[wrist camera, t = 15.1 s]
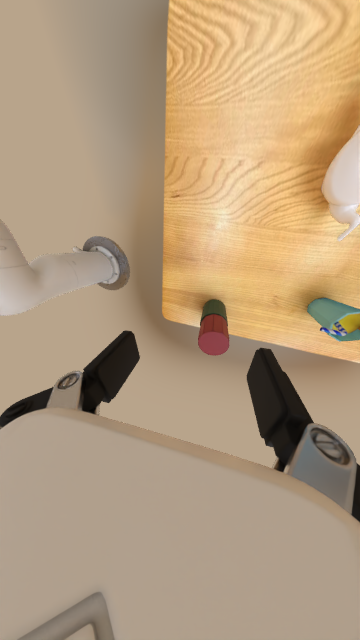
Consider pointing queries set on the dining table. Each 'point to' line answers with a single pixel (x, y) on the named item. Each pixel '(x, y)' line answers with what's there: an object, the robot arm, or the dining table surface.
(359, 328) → the cup
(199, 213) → the dining table surface
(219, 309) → the green bottle
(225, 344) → the grooved red cylinder
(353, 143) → the teapot
